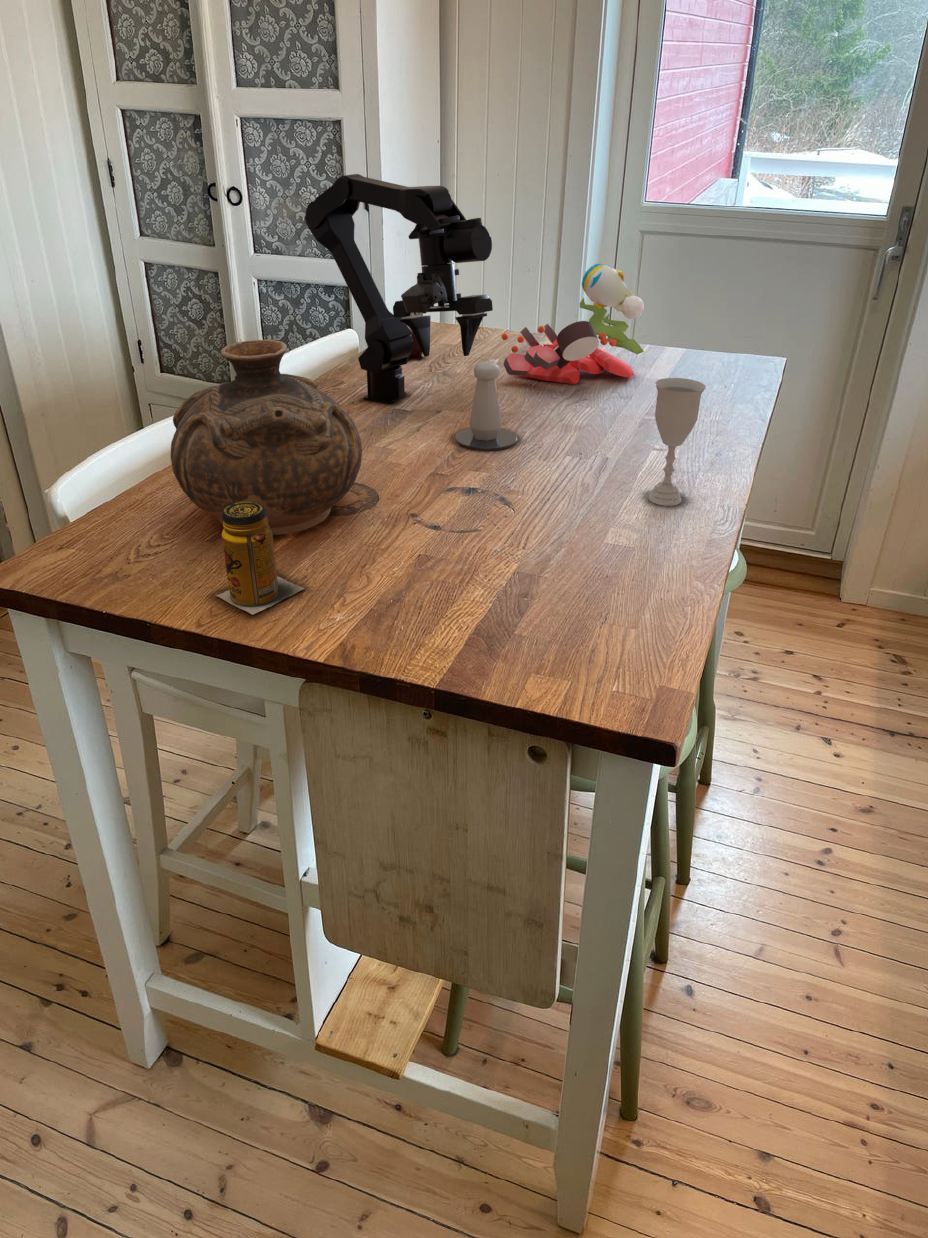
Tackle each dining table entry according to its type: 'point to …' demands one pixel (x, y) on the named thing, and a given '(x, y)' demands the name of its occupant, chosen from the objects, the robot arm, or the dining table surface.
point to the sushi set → (582, 335)
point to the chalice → (674, 427)
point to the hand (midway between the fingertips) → (446, 356)
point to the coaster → (499, 443)
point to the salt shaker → (485, 403)
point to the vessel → (265, 442)
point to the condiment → (251, 559)
